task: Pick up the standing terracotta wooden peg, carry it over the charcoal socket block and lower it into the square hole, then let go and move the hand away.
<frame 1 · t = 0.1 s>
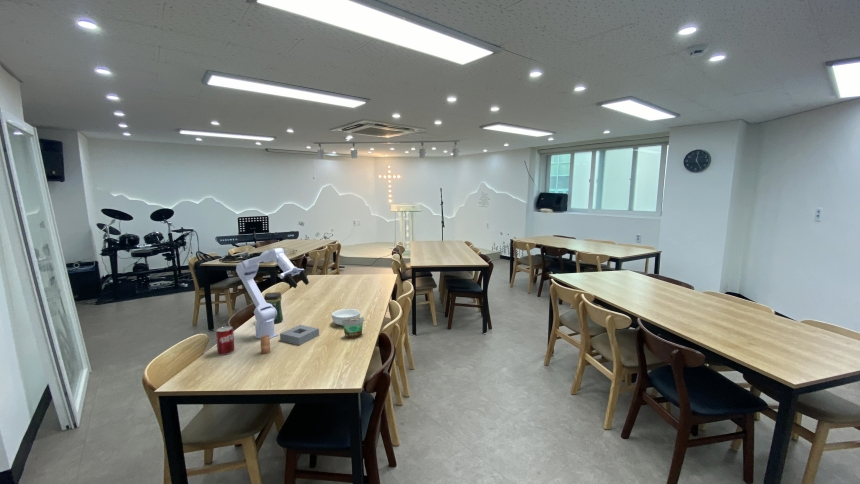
hand: (302, 285, 165), 32 cm above the table, tool tilted 50°, fingers open, 7 cm apart
food container: (354, 336, 181), on the table
coffee jar: (274, 322, 204), on the table
soda can: (226, 352, 162), on the table
socket: (300, 338, 179), on the table
peg: (265, 352, 161), on the table
cereal bowl: (346, 324, 200), on the table
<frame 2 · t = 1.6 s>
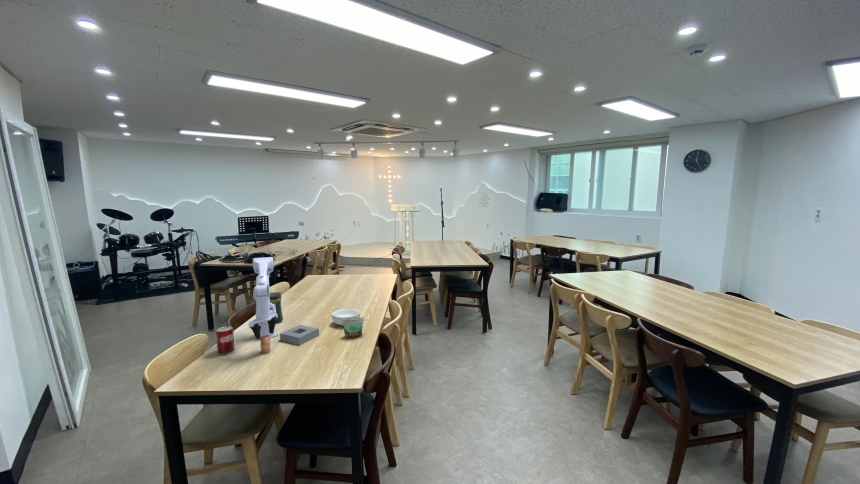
hand: (264, 335, 160), 8 cm above the table, tool pointing down, fingers open, 7 cm apart
nothing on the table moved.
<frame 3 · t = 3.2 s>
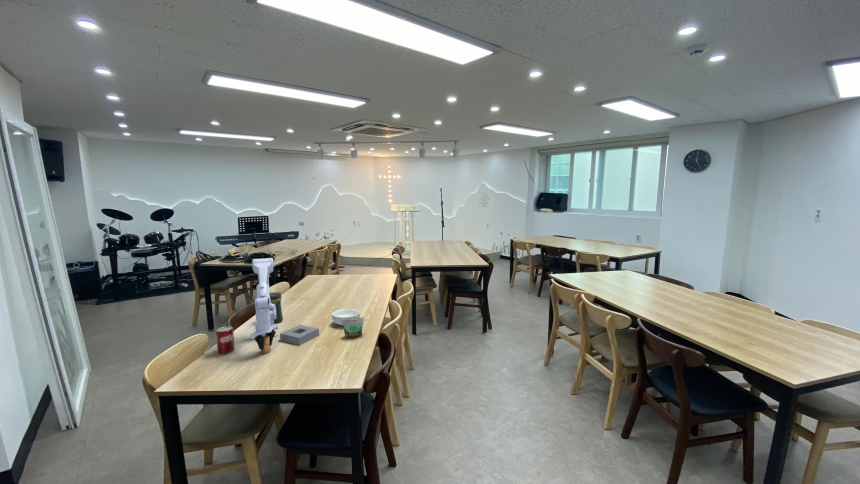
hand: (265, 347, 161), 2 cm above the table, tool pointing down, fingers closed on peg, 4 cm apart
peg: (265, 352, 161), on the table, touching gripper
everything else where it was.
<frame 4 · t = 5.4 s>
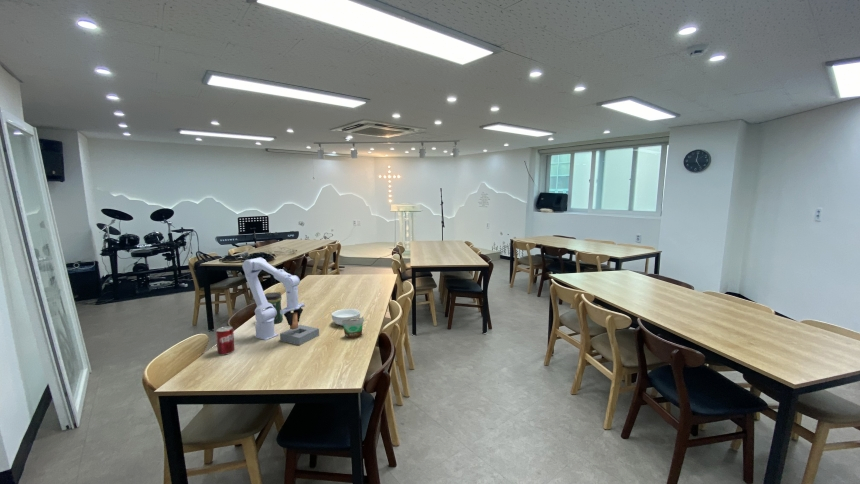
hand: (293, 323, 174), 9 cm above the table, tool pointing down, fingers closed on peg, 4 cm apart
peg: (294, 327, 175), point 7 cm above the table, touching gripper
everything else where it was.
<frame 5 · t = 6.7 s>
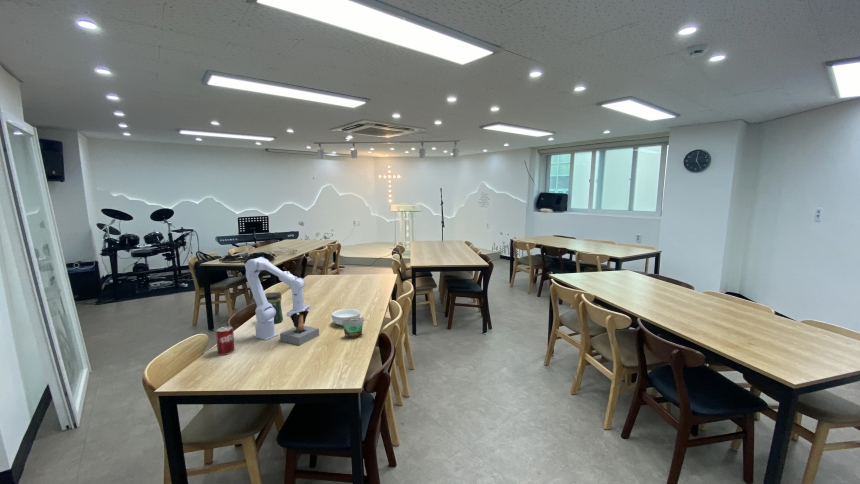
hand: (299, 325, 178), 7 cm above the table, tool pointing down, fingers closed on peg, 4 cm apart
peg: (299, 329, 178), point 5 cm above the table, touching gripper
everything else where it was.
when the fingers open (5 cm above the table, at t = 7.6 s): peg drops 3 cm, resting in socket.
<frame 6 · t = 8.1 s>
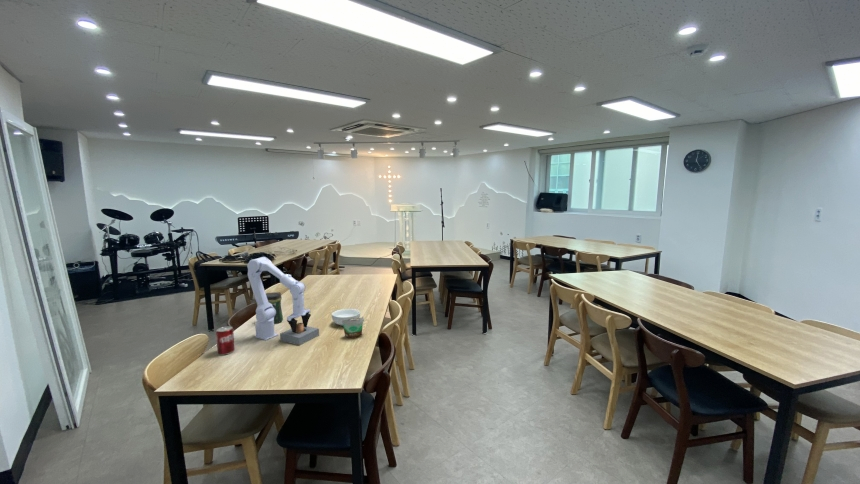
hand: (299, 329, 178), 5 cm above the table, tool pointing down, fingers open, 7 cm apart
peg: (300, 338, 179), resting in socket
everything else where it was.
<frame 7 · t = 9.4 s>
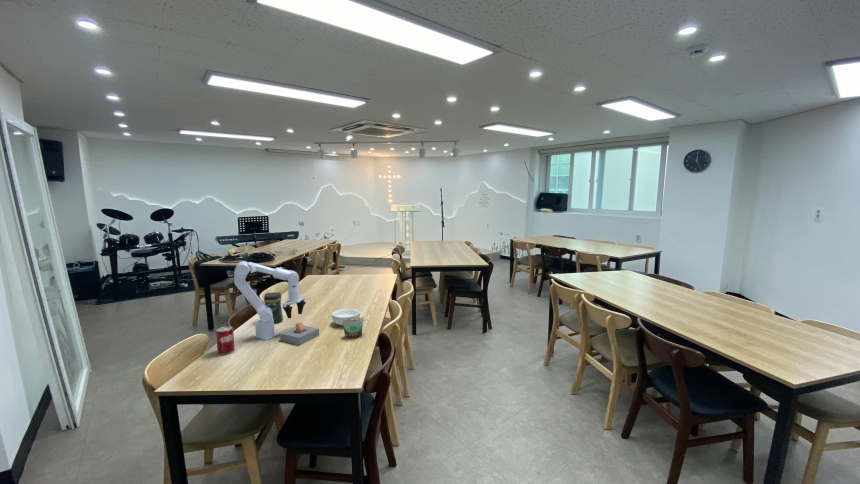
hand: (294, 316, 186), 9 cm above the table, tool pointing down, fingers open, 7 cm apart
nothing on the table moved.
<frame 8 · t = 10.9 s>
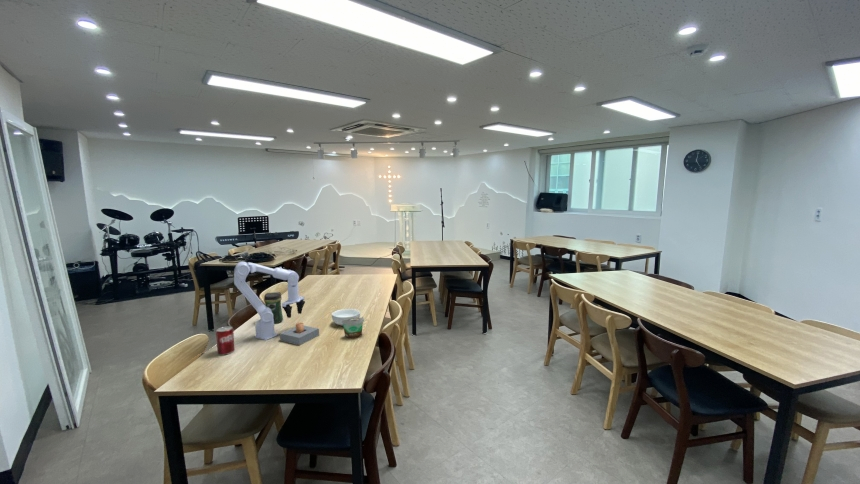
hand: (294, 315, 187), 9 cm above the table, tool pointing down, fingers open, 7 cm apart
nothing on the table moved.
at the end: peg 0.1 cm off-centre on the socket, point 0.0 cm above the socket's base; peg tilted 0°; the gripper is holding nothing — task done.
